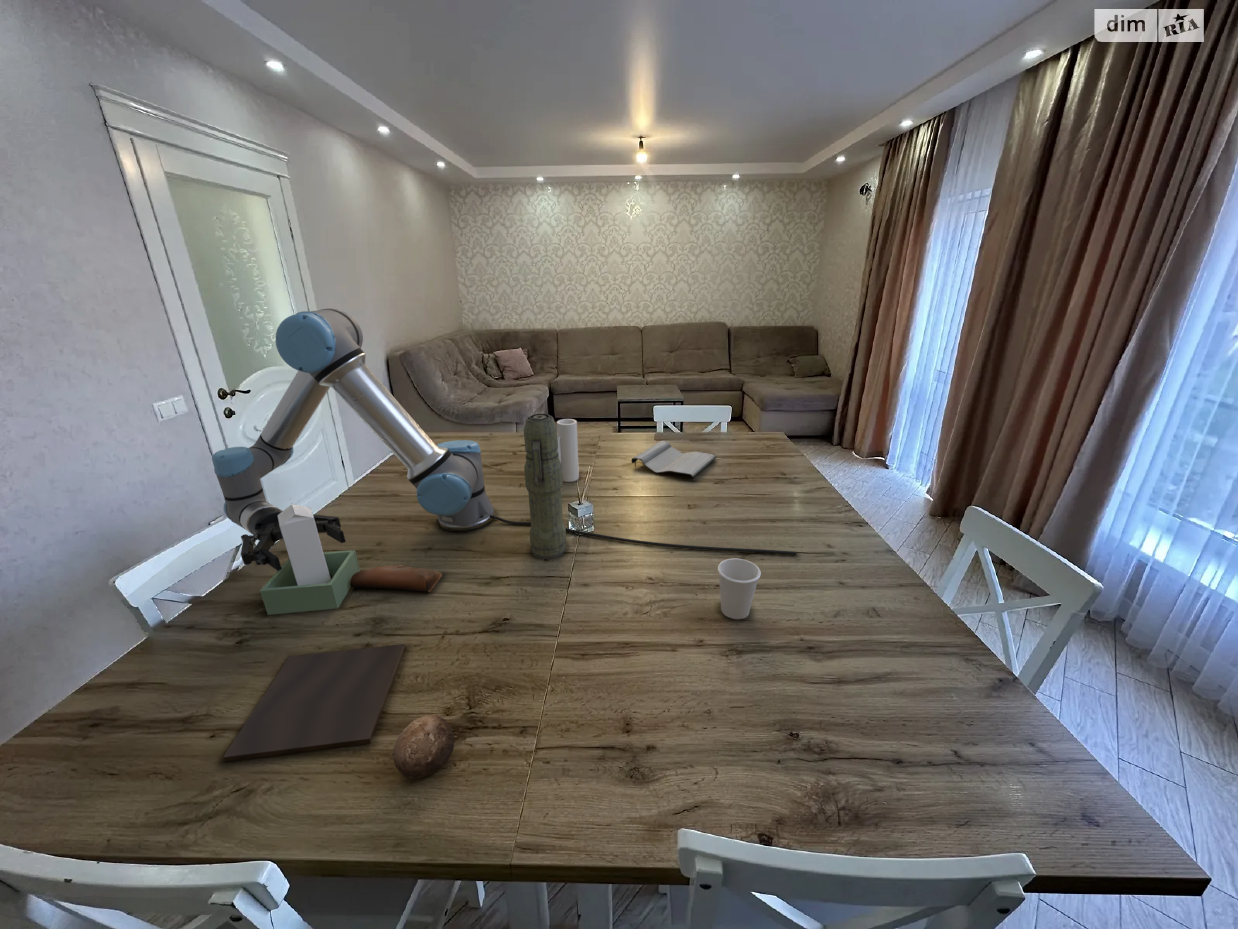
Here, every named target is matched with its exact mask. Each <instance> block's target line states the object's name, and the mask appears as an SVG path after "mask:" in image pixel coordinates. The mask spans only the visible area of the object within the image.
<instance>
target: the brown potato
mask: <svg viewBox="0 0 1238 929" xmlns="http://www.w3.org/2000/svg"><path fill="white" fill-rule="evenodd" d="M454 745H455V734H454V731H453V728H452V726H451V725H450V723H449V722H448V721H447V720H446V719H445V718H443V717H442V716H440V715H438V714H425V715H423V716H422V715H421V716H420V717H418V718H415V719H413V720H412V721H411V722H410V723H408V725H407V726H406V727H404V728H403V729H402V731H401V732H400V734H399V735H398V737H397V739H396V740H395V743H394V748H393V751H392V758H393V762H394V766H395V768H396V769H397V770H398V771H399V772H400V773H401V775H402V776H405V777H407V778H410V779H414V780H415V779H420V778H426V777H428V776H430V775H432V774H434V773H435V772H437V771H438V770H440V769H441V768H442V767H444V765H446V764H447V762H448V761H449V760H450V757H451V755H452V754H453V751H454Z"/></svg>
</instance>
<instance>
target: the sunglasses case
mask: <svg viewBox="0 0 1238 929" xmlns="http://www.w3.org/2000/svg"><path fill="white" fill-rule="evenodd" d="M442 577H443V573H442V572H440V571H437V570H433V569H428V568H420V567H411V566H410V565H403V564H393V565H380V566H379V565H378V566H375V567H371V568H367V569H363V570H360V572H357V573H355V574H354V575H353V576H352V578H351V581H350V585H351V588H352V589H358V588H359V589H378V588H379V589H387V590H388V589H389V590H403V591H415V592H428V593H432V591H433V590H434V589H435V587H436V586H437V585H438V583H439V582H440V580H441V579H442Z"/></svg>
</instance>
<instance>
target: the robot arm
mask: <svg viewBox="0 0 1238 929" xmlns="http://www.w3.org/2000/svg"><path fill="white" fill-rule="evenodd" d="M275 331H276V332H275V347H276V350H277V352H278V354H279V356H280V358H281V359H282V360H283V361H284V363H286V364H287V366H289V367H290V368H292V369H294V370H296V371H297V372H296V373H295V375H294V377H293V378H292V380H291V381H290V384H289V385H288V387H287V389H286V390H285V391H284V394H283V396H282V397H281V398H280V400H279V402H278V404H277V406H276V407H275V409H274V410H273V412H272V414H271V416H270V417H269V419H268V420H267V422H266V424H265V426H264V427H263V429H262V430H261V433H260V434H259V436H258V438H257V440H256V441H255V442H254V444H253V445H251V446H249V447H247V446H233V447H227V448H223V449H220V450H217V451H216V452H214V453H213V454H212V456H211V461H212V465H213V467H214V469H213V470H214V474H215V476H216V479H217V481H218V485H219V486H220V489H221V493H222V494H223V498H224V503H223V512H224V514H225V516H226V517H227V518H228V519H229V520H230V521H231V522H232V523H233V524H236V525H237V526H239V527H240V528H242V529H244V530H245V531H246V532H248V533H250V535H249V534H247V533H246V534H242V535H240V539H241V542H242V545H241V550H240V557H241V560H242V563H243V565H244V566H247V565H250V564H252V562H255V565H256V566H261V565H262V566H265V565H268V566H270V567H272V568H273V569H274V570H276V572H277V571H279V570H281V569H282V568H281V567H282V565H281V562H280V558H279V557H278V556H277V555H275V554H274V553H273V552H271V551H270V549H271V548H272V547H274V546H275V544H276V543H277V542H278V541H281V540H284V539H283V536H282V532H281V529H280V525H279V520H278V515H279V514H280V513H281V512H283V511H284V510H282V509H280V508H279V507H277V506H275V505H273V504H272V503H270V502H268V501H267V499H266V495H265V493H264V492H265V491H264V488H263V484H262V481H261V479H262V478H264V477H266V476H267V475H268V474H270V473H272V472H273V471H274V470H276V469H277V468H279V467H281V466H283V465H285V464H286V463H287V462H288V461H289V460H290V459H291V458H292V457H293V455H294V446H295V445H296V443H297V441H298V439H299V438H300V436H301V434H302V433H303V431H304V430H305V428H306V427H307V425H308V423H309V422H310V420H311V419H312V417H313V415H314V414H315V413H316V411H317V409H318V408H319V406H320V404H321V403H322V401H323V399H324V398H325V397H326V395H327V393H328V391H329V390H330V388H332V389H333V391H335V392H336V393H337V394H338V396H339V397H340V398H341V399H342V400H343V401H344V402H345V403H346V404H347V406H349V407H350V409H352V411H353V412H354V413H355V414H356V415H357V416H358V418H359V419H361V420H362V422H363V423H364V424H365V425H366V426H367V427H368V429H370V430H371V431H372V432H373V433H374V435H375V436H376V437H377V438H378V439H379V441H381V442H382V443H383V445H384V446H386V448H387V449H389V451H390V452H391V453H392V454H393V455H394V456H395V458H397V459H398V461H399V462H400V463H401V464H402V465H403V466H404V467H405V469H407V474H406V475H407V477H406V479H407V480H408V481H409V482H410V484H412V486H413V487H414V488H415V489H416V499H417V502H418V504H419V505H420V507H421V508H422V509H423V510H425V511H426V512H428V513H429V514H431V515H435V516H437V520H438V524H439V527H441V528H442V529H443V530H446V531H450V532H469V531H475V530H478V529H480V528H483V527H485V526H487V525H488V524H490V523H491V522H492V521H494V520H496V521H500V522H502V523H505V524H509V525H519V526H521V525H522V526H523V525H524V526H526V525H527V526H528V525H529V526H531V521H514V520H507V519H505V518H502V517H500V516H496V515H495V507H494V505H493V504H492V502H491V500H490V498H489V496H488V494H487V493H486V487H485V479H484V478H485V477H484V471H483V463H482V462H483V461H482V451H481V448H480V444H479V443H478V442H476V441H474V440H469V439H468V440H467V439H459V440H458V439H457V440H449V441H444V442H440V443H438V444H436V443H435V442H434V441H433V440H432V439H431V438H430V436H428V434H427V433H426V432H425V431H424V430H423V429H422V428H421V426H420V425H419V424H418V423H417V421H415V419H414V418H413V417H412V416H411V415H410V414H409V413H408V411H407V410H406V409H405V408H404V406H402V404H401V403H400V402H399V401H398V400H397V399H396V398H395V396H394V395H393V394H392V393H391V392H390V391H389V389H387V387H386V386H385V385H384V384H383V383H382V382H381V380H380V379H379V378H378V377H377V375H375V374H374V373H373V371H372V370H371V369H370V368H369V367H368V366H367V364H366V356H367V354H366V353H365V351H364V350H363V349H362V346H363V342H364V335H363V331H362V328H361V325H360V324H359V322H358V321H357V320H356V319H355V318H354V317H353V316H352V315H351V314H349V313H347V312H346V311H343V310H340V309H338V308H322V309H317V310H311V311H309V310H308V311H307V310H306V311H299V312H297V313H295V314H291V315H289V316H287V317H286V318H284V319H283V320H282V321H281V322H280V323H279V325H278V327H277V329H276V330H275ZM312 514H313V513H312ZM313 517H314V520H315V524H316V527H317V531H318V534H320V533H321V534H322V533H323V534H324V533H326V536H328V537H330V538H332V539H334V540H335V541H337V542H339V543H340V544H345V543H347V542H346V538H345V537H346V536H345V534H344V531H343V530H342V529H341V527H342V525H341V524H342V523H341V520H340V517H339V516H332V515H322V514H315V513H314V514H313ZM565 528H566V532H569V533H573V534H578V535H584V536H589V537H595V538H600V539H605V540H606V539H607V540H612V541H619V542H624V543H625V542H626V543H630V544H631V543H632V544H639V545H640V544H641V545H647V546H657V547H666V548H679V549H693V550H704V551H705V550H706V551H724V552H741V553H743V552H745V553H759V554H761V553H762V554H778V555H791V556H796V555H797V551H792V550H776V549H761V548H739V547H723V546H722V547H721V546H703V545H688V544H676V543H665V542H654V541H646V540H640V539H639V540H637V539H632V538H625V537H617V536H611V535H605V534H598V533H595V532H588V531H583V530H578V529H573V528H572V529H571V528H568V527H565ZM256 541H258V542H257V543H256ZM255 543H256V544H255Z"/></svg>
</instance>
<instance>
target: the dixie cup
mask: <svg viewBox="0 0 1238 929" xmlns="http://www.w3.org/2000/svg"><path fill="white" fill-rule="evenodd" d="M717 572H718V580H719V595H720V596H719V598H720V610H721V612H722V615H724V616H725V617H727V618H730V619H732V620H743V619H746V618H748V617H749V614H750V611H751V607H752V605H753V604H752V603H753V599H754V596H755V594H756V589H757V586H758V582H759V579H760V578H761V576H762V575H761V574H762V572H761V569H760V568H759V566H758V565H757V564H756V563H754V562H752V561H751V560H747V559H744V558H734V557H733V558H728V559H724V560H722V561H720V563H719V564H718V566H717Z"/></svg>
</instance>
